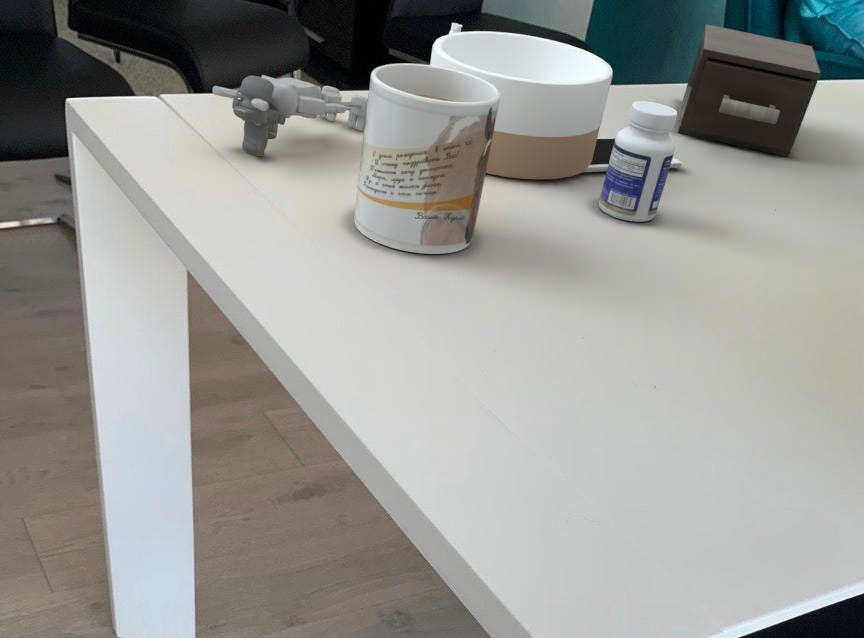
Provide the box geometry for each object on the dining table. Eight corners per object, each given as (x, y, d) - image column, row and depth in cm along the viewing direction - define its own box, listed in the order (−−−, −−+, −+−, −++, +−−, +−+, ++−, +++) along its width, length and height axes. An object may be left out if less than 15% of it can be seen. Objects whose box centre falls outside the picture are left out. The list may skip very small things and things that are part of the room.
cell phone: (682, 168, 105) (684, 162, 105) (557, 174, 98) (558, 168, 98) (634, 142, 110) (636, 136, 110) (512, 146, 103) (514, 140, 103)
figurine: (307, 142, 104) (199, 144, 90) (319, 74, 101) (208, 65, 86) (369, 163, 102) (268, 168, 88) (383, 94, 99) (281, 88, 84)
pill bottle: (634, 200, 96) (664, 99, 90) (665, 223, 93) (698, 118, 87) (586, 201, 94) (613, 97, 89) (615, 223, 91) (646, 117, 85)
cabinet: (788, 157, 115) (820, 73, 109) (677, 132, 116) (703, 48, 110) (783, 123, 126) (812, 46, 120) (682, 101, 127) (705, 24, 121)
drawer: (788, 162, 110) (815, 93, 106) (684, 139, 111) (705, 70, 107) (782, 120, 123) (805, 58, 119) (688, 100, 124) (707, 37, 120)
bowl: (579, 193, 95) (602, 96, 89) (401, 156, 97) (412, 59, 91) (601, 141, 107) (622, 52, 102) (443, 108, 110) (455, 20, 104)
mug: (323, 212, 83) (338, 63, 76) (431, 194, 90) (454, 55, 83) (407, 263, 78) (431, 107, 71) (515, 240, 85) (548, 96, 77)
